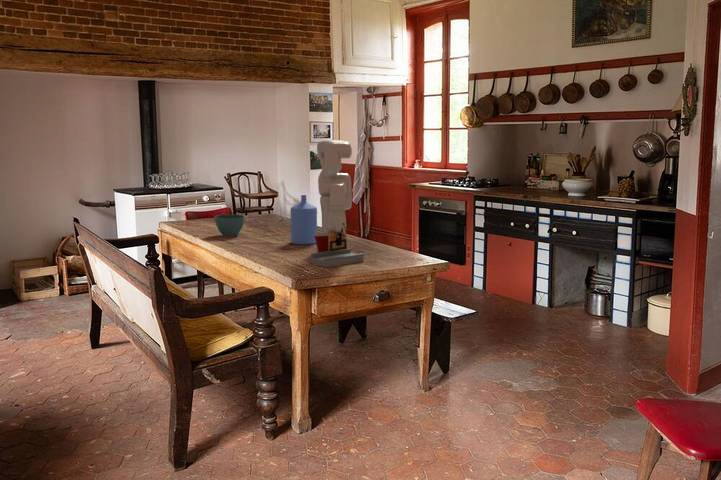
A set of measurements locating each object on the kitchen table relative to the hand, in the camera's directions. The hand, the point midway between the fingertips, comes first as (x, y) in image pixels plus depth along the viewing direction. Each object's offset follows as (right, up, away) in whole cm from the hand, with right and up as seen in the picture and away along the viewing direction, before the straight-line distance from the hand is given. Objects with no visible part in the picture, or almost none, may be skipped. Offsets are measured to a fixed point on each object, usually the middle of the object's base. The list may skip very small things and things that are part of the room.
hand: (337, 244), depth 330 cm
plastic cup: (-8, -6, +19) cm, 22 cm away
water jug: (-22, +1, +59) cm, 62 cm away
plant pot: (-70, +5, +82) cm, 108 cm away
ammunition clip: (0, -3, +1) cm, 3 cm away
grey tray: (0, -9, +1) cm, 9 cm away
